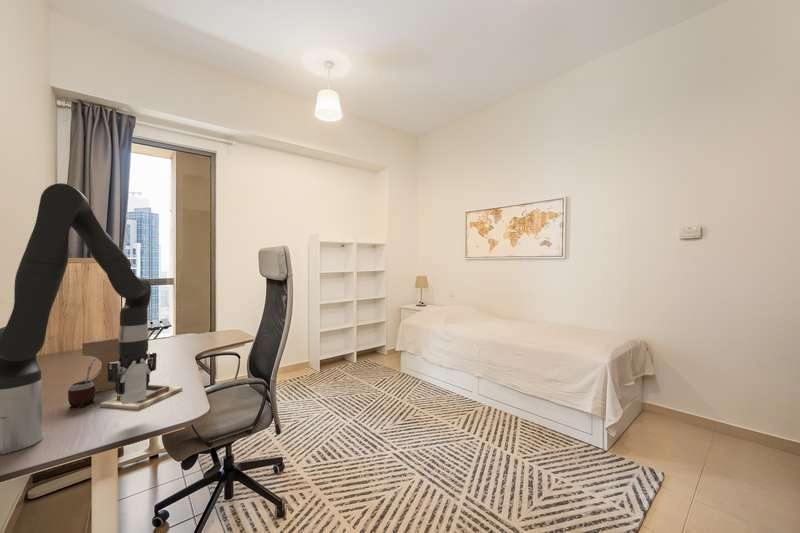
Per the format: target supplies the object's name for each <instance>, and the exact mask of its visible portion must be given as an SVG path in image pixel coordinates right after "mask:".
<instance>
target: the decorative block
mask: <svg viewBox="0 0 800 533" xmlns="http://www.w3.org/2000/svg"><path fill="white" fill-rule="evenodd" d="M81 345H82V346H81V347H82V349H81V350H82V352H81V353H82V355H83V356H84V357H93V358H96V359H98V360H99V361H100V362H101V367H100V369H99V370H98V371H97V372H96V373H94V374H93V375H92V376H90V377H89V378H88V381H92V382H93V383H94V385H95V394H96V393H99V392H105V391H110V390H114V389H116V388H115V383H114V382H108V370H107V364H108V363H114V362H117V361H118V360H119V358H120V356H119V354H118V336H114V337H113V336H112V337H106V338H100V339H99V338H97V339H91V340H83V341H82V342H81ZM119 368H120V365H119ZM119 368H118V370H119ZM82 381H86V378H84V379H83V380H82Z"/></svg>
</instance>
